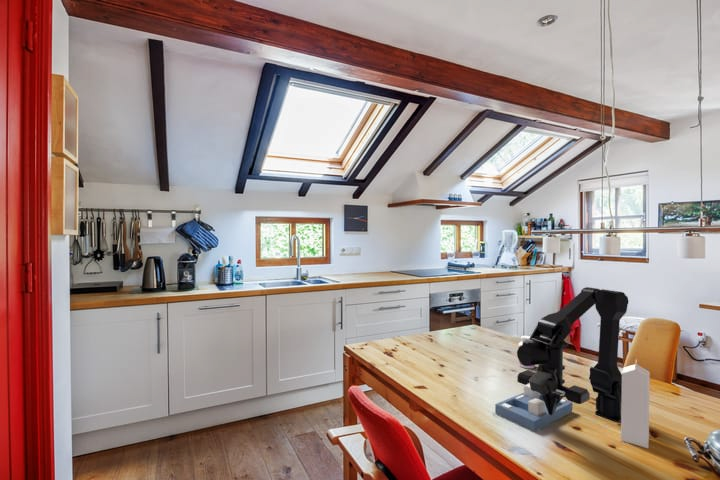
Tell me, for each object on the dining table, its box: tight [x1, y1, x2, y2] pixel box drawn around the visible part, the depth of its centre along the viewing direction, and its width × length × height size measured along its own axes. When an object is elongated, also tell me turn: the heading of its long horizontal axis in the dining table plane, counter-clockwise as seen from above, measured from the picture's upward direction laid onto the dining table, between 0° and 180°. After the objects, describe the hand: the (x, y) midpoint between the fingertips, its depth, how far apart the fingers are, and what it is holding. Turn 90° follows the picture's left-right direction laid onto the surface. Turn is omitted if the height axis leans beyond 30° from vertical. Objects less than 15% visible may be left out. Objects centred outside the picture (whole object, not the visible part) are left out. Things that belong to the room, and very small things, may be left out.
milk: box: [620, 358, 651, 449], centre depth 101 cm, size 6×6×22 cm
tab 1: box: [524, 383, 540, 400], centre depth 123 cm, size 3×4×5 cm
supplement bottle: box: [517, 335, 536, 370], centre depth 159 cm, size 7×7×13 cm
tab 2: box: [528, 398, 545, 417], centre depth 111 cm, size 3×4×5 cm
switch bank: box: [494, 391, 573, 432], centre depth 117 cm, size 13×22×3 cm, turn 124°
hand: (551, 414), depth 107 cm, fingers closed
